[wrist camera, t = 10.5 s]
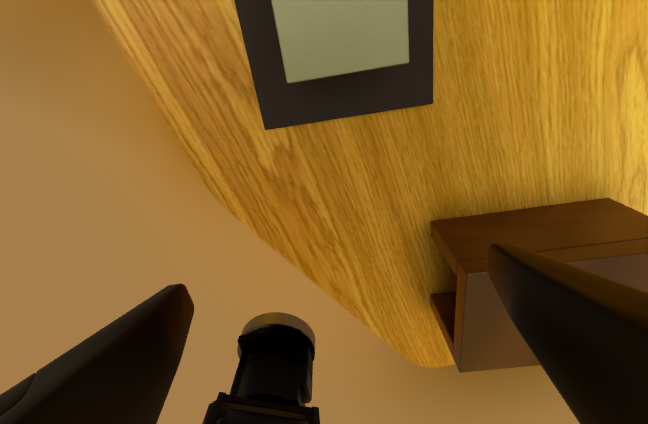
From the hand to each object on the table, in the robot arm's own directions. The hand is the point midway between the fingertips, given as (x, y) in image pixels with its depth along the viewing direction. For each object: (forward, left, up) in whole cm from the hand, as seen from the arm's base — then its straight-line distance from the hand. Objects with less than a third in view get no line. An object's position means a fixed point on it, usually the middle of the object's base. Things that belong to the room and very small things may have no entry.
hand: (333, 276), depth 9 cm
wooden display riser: (+13, -9, -12) cm, 19 cm away
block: (+1, +8, -11) cm, 14 cm away
